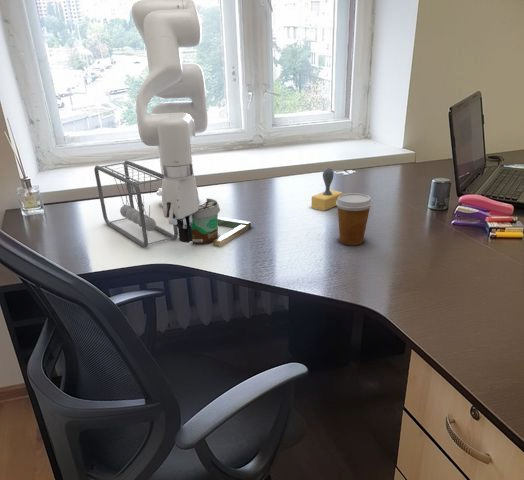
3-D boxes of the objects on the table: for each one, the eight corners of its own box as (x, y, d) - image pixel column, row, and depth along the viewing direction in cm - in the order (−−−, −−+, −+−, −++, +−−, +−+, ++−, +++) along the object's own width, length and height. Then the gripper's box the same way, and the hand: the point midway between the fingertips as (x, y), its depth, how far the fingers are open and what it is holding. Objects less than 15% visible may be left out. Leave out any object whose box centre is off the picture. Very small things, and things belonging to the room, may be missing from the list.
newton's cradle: (104, 222, 165) (92, 164, 156) (134, 215, 171) (125, 158, 161) (146, 249, 145) (135, 184, 135) (179, 240, 150) (172, 177, 140)
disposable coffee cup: (347, 250, 140) (349, 205, 134) (327, 239, 147) (329, 196, 141) (376, 243, 144) (380, 199, 137) (355, 232, 151) (358, 190, 145)
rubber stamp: (329, 200, 178) (330, 163, 172) (343, 203, 175) (345, 166, 168) (310, 207, 172) (311, 169, 166) (324, 210, 169) (326, 172, 162)
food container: (210, 248, 144) (207, 212, 139) (190, 246, 146) (186, 210, 141) (229, 233, 154) (226, 199, 148) (210, 231, 156) (207, 197, 150)
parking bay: (179, 239, 151) (178, 233, 150) (212, 221, 163) (211, 215, 163) (220, 246, 145) (219, 240, 144) (251, 227, 157) (250, 221, 157)
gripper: (184, 163, 140) (191, 231, 149) (147, 176, 129) (157, 248, 138) (207, 166, 136) (213, 234, 146) (171, 178, 125) (180, 252, 135)
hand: (186, 241), depth 142 cm, fingers closed
